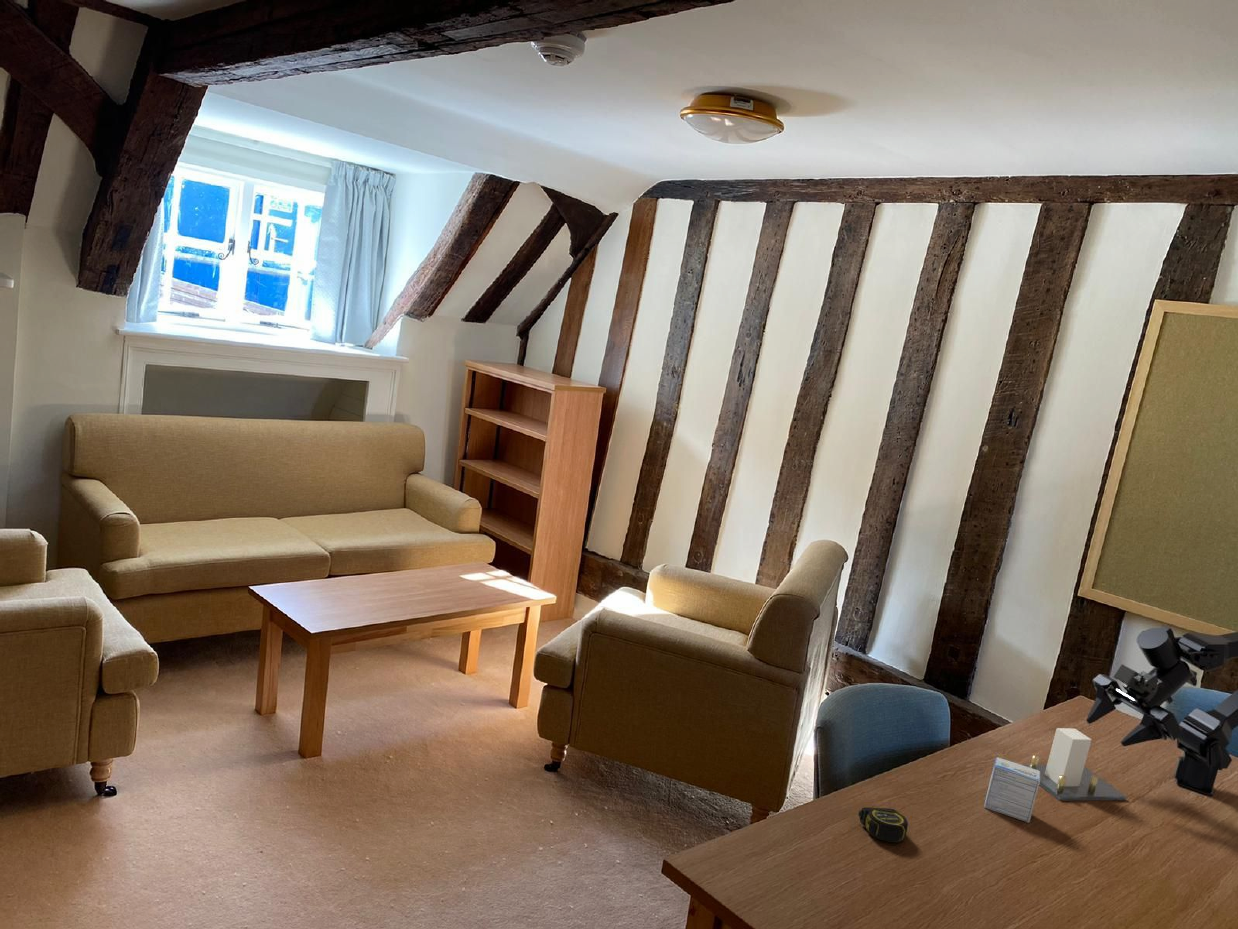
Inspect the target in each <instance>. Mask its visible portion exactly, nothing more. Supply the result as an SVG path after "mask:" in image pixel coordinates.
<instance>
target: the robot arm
mask: <svg viewBox="0 0 1238 929" xmlns="http://www.w3.org/2000/svg"><path fill="white" fill-rule="evenodd" d="M1135 641H1136V644H1137V645H1138V647H1139V649H1140V650H1141V652H1142V654H1143V656H1144V657H1145V659H1146V661H1147V662H1148V664H1149V666H1151V667H1153V668H1152V669H1151V670H1150V671H1148V672H1146V671H1144V670H1143V671H1140V672H1137V671H1135V670H1134V669H1132V668H1130V667H1128V666H1126V665H1125V664H1123V663H1122V664H1121V665H1120V666H1119V668H1118V669H1117V670H1116V672H1115V674H1114V675H1113V678H1112V677H1110V676H1109V675H1107V674H1104V673H1103V674H1101V673H1099V674H1097V675H1096V676H1095V677H1094V678H1093V679H1092V680H1091V682H1093V686H1094V689H1095V691H1096V697H1095V699H1094V703H1093V705H1092V707H1091V709H1090V712H1089V713H1088V715H1087V717H1086V720H1085V721H1086V723H1087V724H1089V725H1090V724H1093V723H1095V722H1097V721H1098V720H1100V719H1102V718H1103V717H1105V716H1107V715H1108V714H1109V713H1112V712H1113V711H1115V710H1117V708H1116V706H1118V705H1121V704H1125V705H1126V706H1128V707H1130V708H1131V709H1133V710H1134V711H1136V712H1138V713H1140V715H1141V714H1142V718H1141V721H1140V723H1139V724H1137V726H1135V727H1134V728H1133V729H1132V730H1131V731H1130V732H1129V733H1127V735H1126V736H1125V737H1124V738H1123V739H1122V740H1121V741H1120V744H1121V746H1122V747H1127V746H1132V745H1137V744H1140V743H1145V742H1149V741H1150V742H1151V741H1155V740H1156V741H1157V740H1163V741H1166V740H1168V739H1169V740H1171V741H1176V748H1178V749H1179V750H1181V751H1183V754H1182V756H1181V755H1180V756H1178V760H1177V761H1176V762H1177V763H1176V766H1175V770H1174V778H1175V780H1176V785H1177V786H1181V787H1182V788H1186V789H1188V790H1192V791H1195V792H1196V793H1197V792H1198V793H1201V794H1202V795H1203V794H1204V795H1207V796H1210V797H1213V795H1214V792H1213V789H1214V785H1215V782H1216V778H1217V775H1218V772H1219V771H1223V769H1225V770H1226V769H1228V768H1229V766H1230V765H1231V763H1232V757H1231V756H1230V754H1229V753H1228V750H1227V749H1226V748H1227V747H1228V746H1229V745H1230V743H1231V738H1232V732H1233V730H1234V729H1236V727H1238V689H1236V690H1235V691H1233V692H1232V693H1231V694H1230V695H1229V696H1228V697H1226V698H1225V699H1224V700H1222V702H1220V703H1219V704H1218V705H1217V706H1216V707H1214V708H1213V709H1212V710H1207V711H1204V710H1202V709H1201V708H1199V707H1197V708H1195V709H1193V710H1192V711H1191V712H1190V713H1188V715H1186V716H1184V717H1182V718H1181V720H1182V721H1181V722H1179V721H1178V719H1177V717H1176V715H1175V714H1174V713H1173V712H1172V711H1170V710H1168V709H1166V708H1164V707H1163V706H1162V705H1163V704H1164V703H1165V702H1166V703H1167V704H1169V705H1170V704H1171V703H1172V702H1174V699H1173V698H1172V696H1173V695H1174V694H1176V693H1177V691H1178V690H1179V689H1181V688H1182V687H1183V686H1184V685H1186V683H1187V684H1189V685H1191V686H1193V687H1196V686H1197V685H1198V679H1197V675H1198V672H1197V671H1195V670H1193V669H1191V667H1190V665H1191V666H1194V667H1195V668H1197V669H1199V670H1200V671H1203V672H1210V671H1213V670H1216V669H1218V668H1221V667H1224V665H1225V664H1226V663H1227V661H1228V660H1230V659H1235V658H1238V631H1234V632H1229V633H1223V634H1217V635H1216V634H1215V635H1214V634H1209V633H1201V632H1188V633H1185V634H1183V635H1181V636H1176V635H1175V634H1174V632H1173V630H1172V628H1171V627H1169V626H1166V625H1165V624H1162V625H1161V626H1160V627H1152V628H1151V627H1150V628H1148V629H1146V630H1142V631H1141V632H1139V634H1138V635H1137V637H1136V640H1135ZM1189 664H1190V665H1189ZM1117 680H1119V681H1120V683H1123V684H1122V687H1123V689H1124V690H1125V691H1126V692H1124V691H1123V690H1122V687H1121V686H1120V684H1119V683H1118V681H1117Z"/></svg>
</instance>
